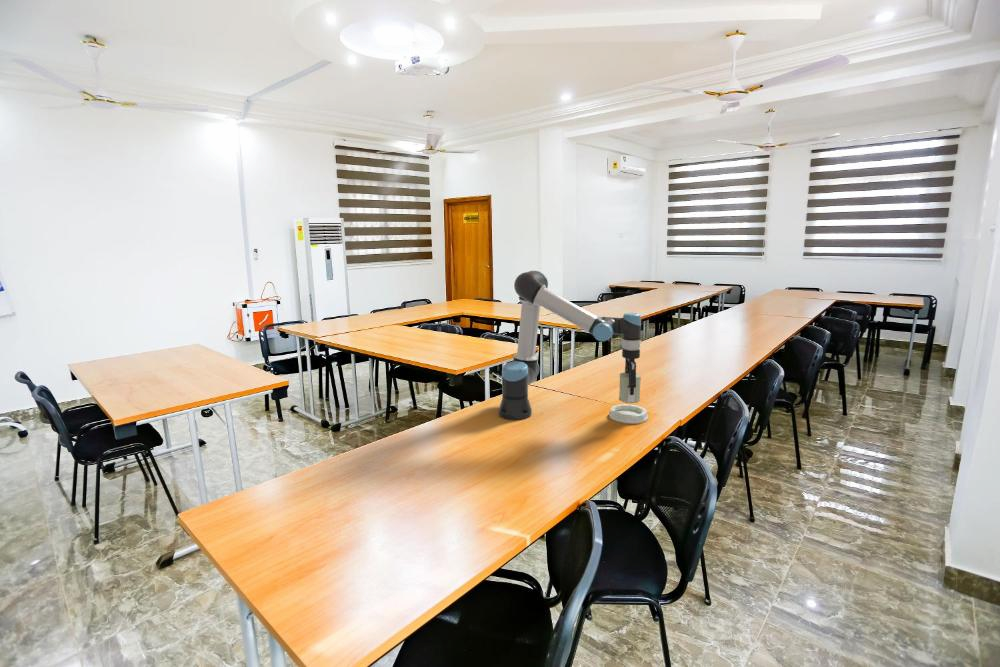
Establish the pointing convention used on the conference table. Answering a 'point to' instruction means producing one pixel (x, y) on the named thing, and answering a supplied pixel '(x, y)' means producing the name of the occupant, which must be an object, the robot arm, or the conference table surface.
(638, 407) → the tray
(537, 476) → the conference table surface
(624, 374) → the can
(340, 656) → the conference table surface
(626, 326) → the robot arm
